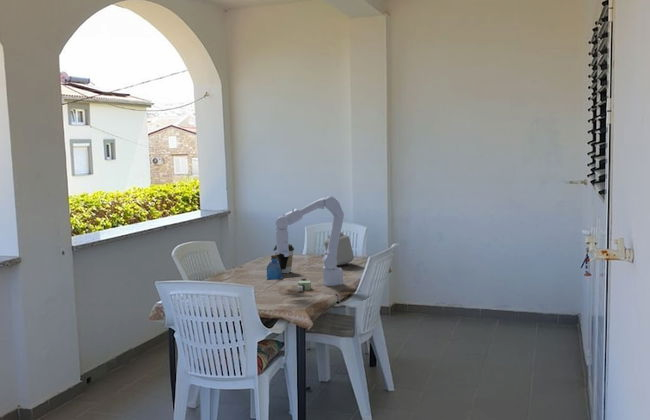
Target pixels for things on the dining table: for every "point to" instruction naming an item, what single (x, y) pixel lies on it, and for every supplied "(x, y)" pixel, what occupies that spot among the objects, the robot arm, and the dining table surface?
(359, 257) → the dining table surface
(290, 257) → the coffee cup
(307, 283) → the keeper
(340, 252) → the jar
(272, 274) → the perfume bottle
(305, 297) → the dining table surface
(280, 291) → the board
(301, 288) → the link
